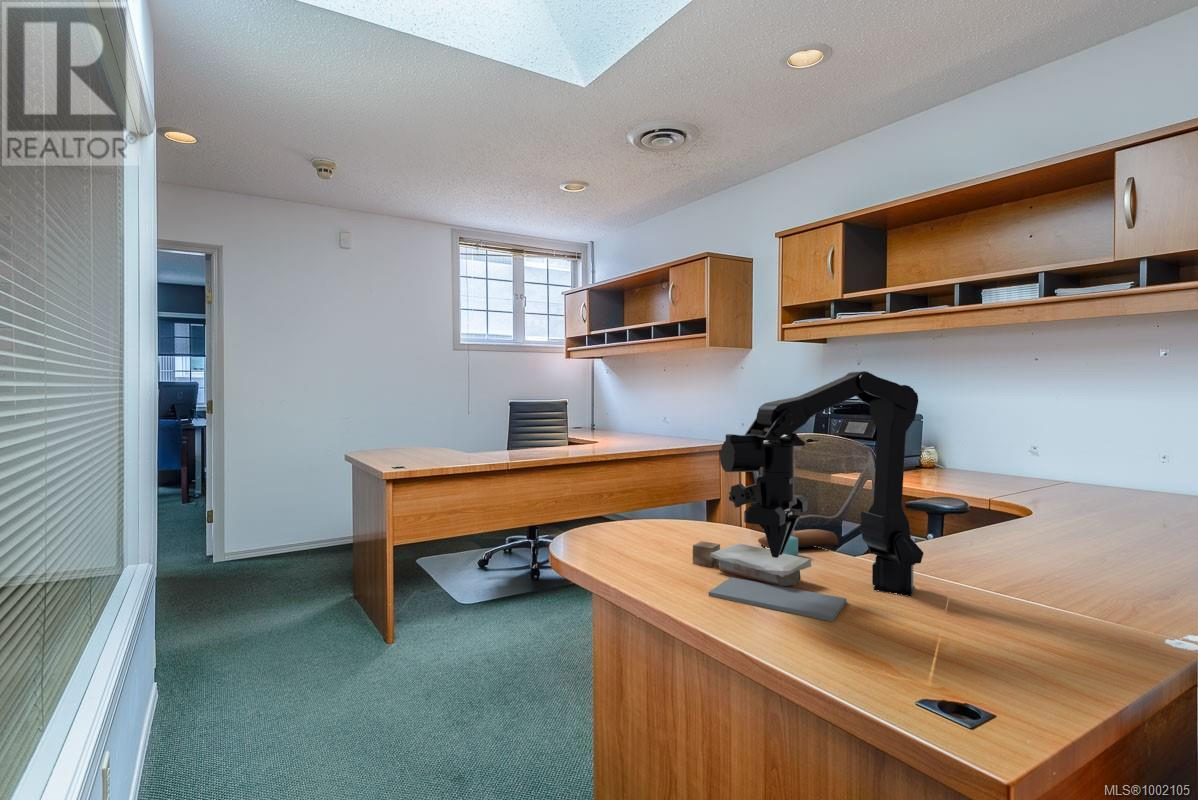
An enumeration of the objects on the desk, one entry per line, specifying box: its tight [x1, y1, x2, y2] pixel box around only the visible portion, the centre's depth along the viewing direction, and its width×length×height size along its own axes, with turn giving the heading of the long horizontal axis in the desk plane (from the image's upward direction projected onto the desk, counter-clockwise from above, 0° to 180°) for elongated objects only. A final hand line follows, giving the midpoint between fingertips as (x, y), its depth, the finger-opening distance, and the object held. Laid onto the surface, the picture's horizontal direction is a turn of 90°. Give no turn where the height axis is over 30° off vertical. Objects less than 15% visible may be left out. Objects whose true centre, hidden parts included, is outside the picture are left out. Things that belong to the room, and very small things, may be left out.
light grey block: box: [710, 542, 812, 587], centre depth 121 cm, size 18×5×10 cm
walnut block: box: [692, 540, 721, 568], centre depth 131 cm, size 4×4×4 cm
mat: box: [708, 576, 848, 622], centre depth 108 cm, size 22×11×1 cm, turn 56°
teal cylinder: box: [783, 536, 799, 557], centre depth 137 cm, size 4×4×4 cm
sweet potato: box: [757, 528, 839, 548], centre depth 145 cm, size 18×7×7 cm
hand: (777, 555), depth 108 cm, fingers closed
